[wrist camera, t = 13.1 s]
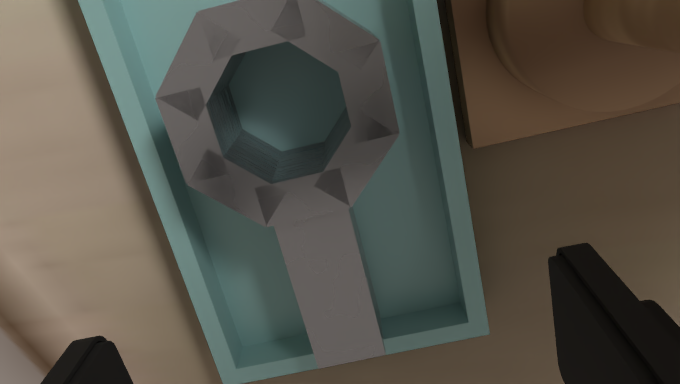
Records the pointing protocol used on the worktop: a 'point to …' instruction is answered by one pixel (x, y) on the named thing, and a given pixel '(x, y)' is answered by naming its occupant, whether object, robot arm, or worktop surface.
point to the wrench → (291, 156)
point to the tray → (292, 132)
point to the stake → (560, 63)
